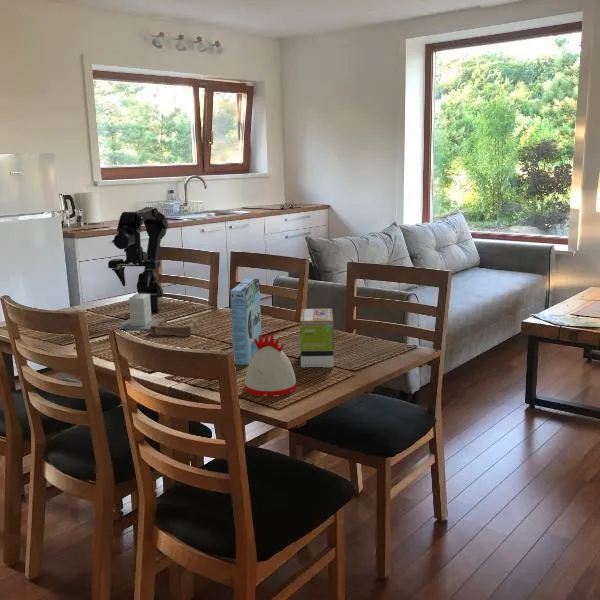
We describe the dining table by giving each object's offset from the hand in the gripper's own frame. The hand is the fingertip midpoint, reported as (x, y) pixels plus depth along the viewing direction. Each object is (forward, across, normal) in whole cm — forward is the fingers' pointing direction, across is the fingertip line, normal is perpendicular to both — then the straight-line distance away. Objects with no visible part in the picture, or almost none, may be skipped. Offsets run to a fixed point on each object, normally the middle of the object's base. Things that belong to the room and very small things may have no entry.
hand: (135, 286), depth 252 cm
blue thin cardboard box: (+13, -53, +39) cm, 67 cm away
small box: (+13, -5, +8) cm, 15 cm away
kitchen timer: (+13, -66, +66) cm, 95 cm away
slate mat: (+13, -5, +8) cm, 16 cm away
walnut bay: (+13, -20, +13) cm, 27 cm away
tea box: (+13, -75, +41) cm, 86 cm away
